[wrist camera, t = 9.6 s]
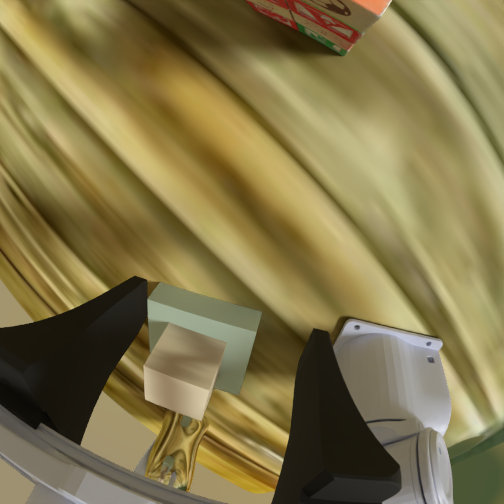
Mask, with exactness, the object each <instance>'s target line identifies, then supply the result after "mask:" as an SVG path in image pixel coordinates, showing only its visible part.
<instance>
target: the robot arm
mask: <svg viewBox="0 0 504 504" xmlns="http://www.w3.org/2000/svg"><path fill="white" fill-rule="evenodd" d="M147 315H148V301H147V280H146V279H143V278H140V277H137V276H133V277H132V278H130V279H128V280H126V281H124V282H123V283H121V284H119V285H118V286H116V287H114V288H112V289H111V290H109V291H107V292H105V293H103V294H102V295H100V296H98V297H96V298H94V299H92V300H90V301H88V302H86V303H84V304H82V305H80V306H78V307H76V308H74V309H72V310H69V311H67V312H64V313H62V314H59V315H56V316H53V317H50V318H47V319H44V320H40V321H37V322H33V323H29V324H24V325H19V326H13V327H4V328H0V458H1V459H3V460H4V461H5V462H6V463H8V464H9V465H10V466H11V467H13V468H14V469H15V470H17V471H18V472H19V473H21V474H22V475H23V476H25V477H26V478H27V479H29V480H30V481H32V482H33V483H34V484H36V485H35V487H34V489H33V491H32V493H31V494H30V496H29V498H28V500H27V502H26V504H227V503H223V502H219V501H216V500H212V499H208V498H205V497H202V496H198V495H195V494H192V493H189V492H186V491H183V490H180V489H177V488H174V487H171V486H168V485H165V484H163V483H160V482H157V481H155V480H152V479H150V478H147V477H145V476H142V475H140V474H137V473H135V472H133V471H130V470H128V469H126V468H124V467H121V466H119V465H117V464H115V463H113V462H111V461H109V460H106V459H104V458H102V457H100V456H98V455H96V454H94V453H93V452H90V451H89V450H87V449H85V448H83V447H81V446H80V444H81V441H82V438H83V435H84V433H85V430H86V427H87V424H88V422H89V419H90V417H91V414H92V412H93V409H94V407H95V405H96V403H97V400H98V398H99V396H100V394H101V392H102V390H103V388H104V386H105V384H106V382H107V380H108V378H109V376H110V374H111V373H112V371H113V369H114V368H115V366H116V365H117V363H118V362H119V361H120V359H121V358H122V356H123V355H124V353H125V352H126V350H127V349H128V348H129V346H130V345H131V343H132V342H133V340H134V339H135V337H136V336H137V334H138V333H139V331H140V329H141V327H142V325H143V323H144V321H145V319H146V317H147ZM356 325H359V326H358V327H355V326H356ZM427 342H429V343H427ZM442 345H443V343H442V340H441V339H438V338H433V337H429V336H424V335H420V334H415V333H411V332H407V331H402V330H398V329H394V328H389V327H385V326H381V325H377V324H373V323H369V322H364V321H360V320H356V319H348V320H347V321H346V322H345V324H344V326H343V328H342V330H341V332H340V334H339V336H338V338H337V340H336V341H335V343H334V345H333V346H332V343H331V339H330V335H329V333H328V332H327V331H323V330H319V329H315V328H314V329H313V331H312V333H311V335H310V338H309V340H308V342H307V344H306V346H305V349H304V351H303V353H302V355H301V357H300V360H299V364H298V369H297V374H296V379H295V387H294V398H293V409H292V420H291V429H290V435H289V440H288V444H287V449H286V453H285V457H284V461H283V465H282V469H281V473H280V476H279V480H278V484H277V487H276V490H275V494H274V497H273V500H272V503H271V504H453V497H452V492H453V491H452V490H453V485H452V473H451V466H450V460H449V456H448V452H447V448H446V445H445V442H444V439H443V435H444V434H445V432H446V430H447V428H448V425H449V421H450V416H451V398H450V394H449V389H448V385H447V381H446V377H445V373H444V370H443V366H442V362H441V358H440V355H439V350H440V348H441V347H442ZM77 464H78V465H77Z"/></svg>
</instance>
